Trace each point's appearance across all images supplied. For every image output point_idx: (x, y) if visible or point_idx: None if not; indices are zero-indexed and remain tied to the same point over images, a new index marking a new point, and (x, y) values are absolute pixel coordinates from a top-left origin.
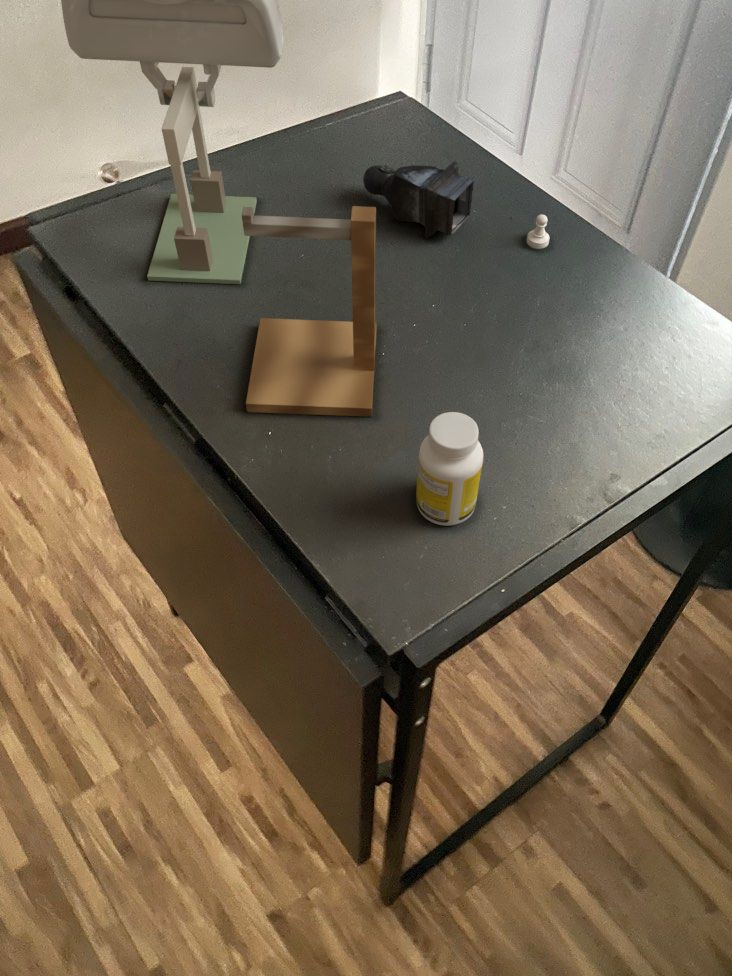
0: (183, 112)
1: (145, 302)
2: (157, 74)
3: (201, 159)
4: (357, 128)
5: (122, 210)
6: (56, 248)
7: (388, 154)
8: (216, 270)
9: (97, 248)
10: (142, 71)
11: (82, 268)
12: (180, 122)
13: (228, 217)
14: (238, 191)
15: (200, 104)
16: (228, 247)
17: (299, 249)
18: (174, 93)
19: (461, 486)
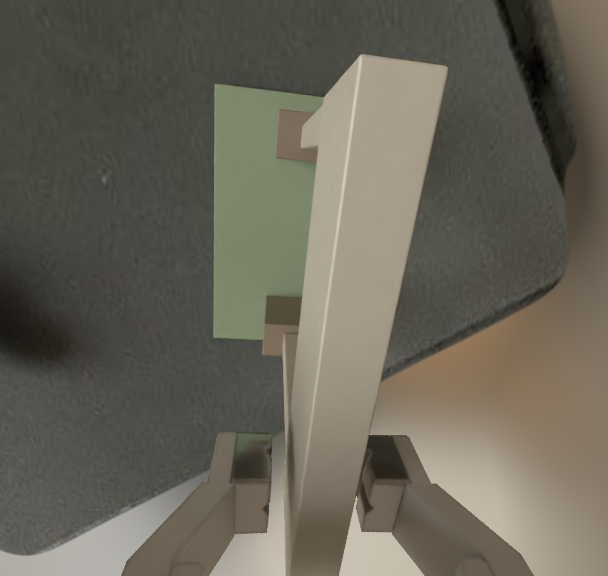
0: (315, 329)
1: (403, 34)
2: (436, 549)
3: (295, 355)
4: (77, 503)
5: (435, 309)
6: (546, 212)
7: (8, 451)
8: (265, 120)
9: (480, 210)
10: (519, 555)
11: (510, 153)
12: (326, 238)
13: (257, 283)
14: (249, 358)
15: (264, 436)
16: (248, 194)
17: (114, 199)
18: (362, 439)
19: None
